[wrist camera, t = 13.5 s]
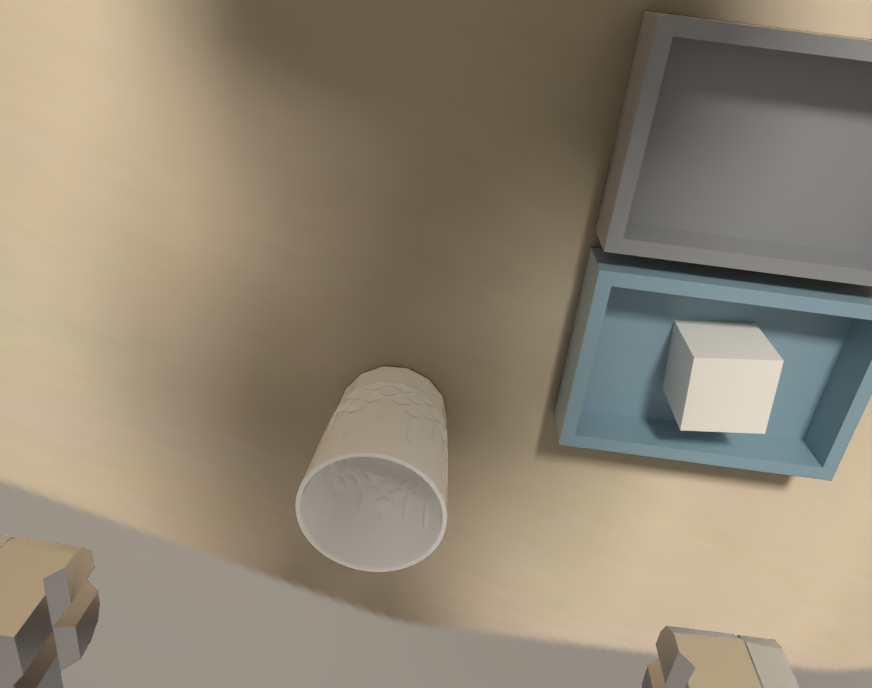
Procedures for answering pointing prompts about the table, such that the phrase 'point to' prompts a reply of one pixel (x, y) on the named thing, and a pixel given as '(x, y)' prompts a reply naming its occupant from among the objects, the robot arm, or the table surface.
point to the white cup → (379, 474)
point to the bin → (722, 302)
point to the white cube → (721, 376)
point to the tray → (744, 150)
